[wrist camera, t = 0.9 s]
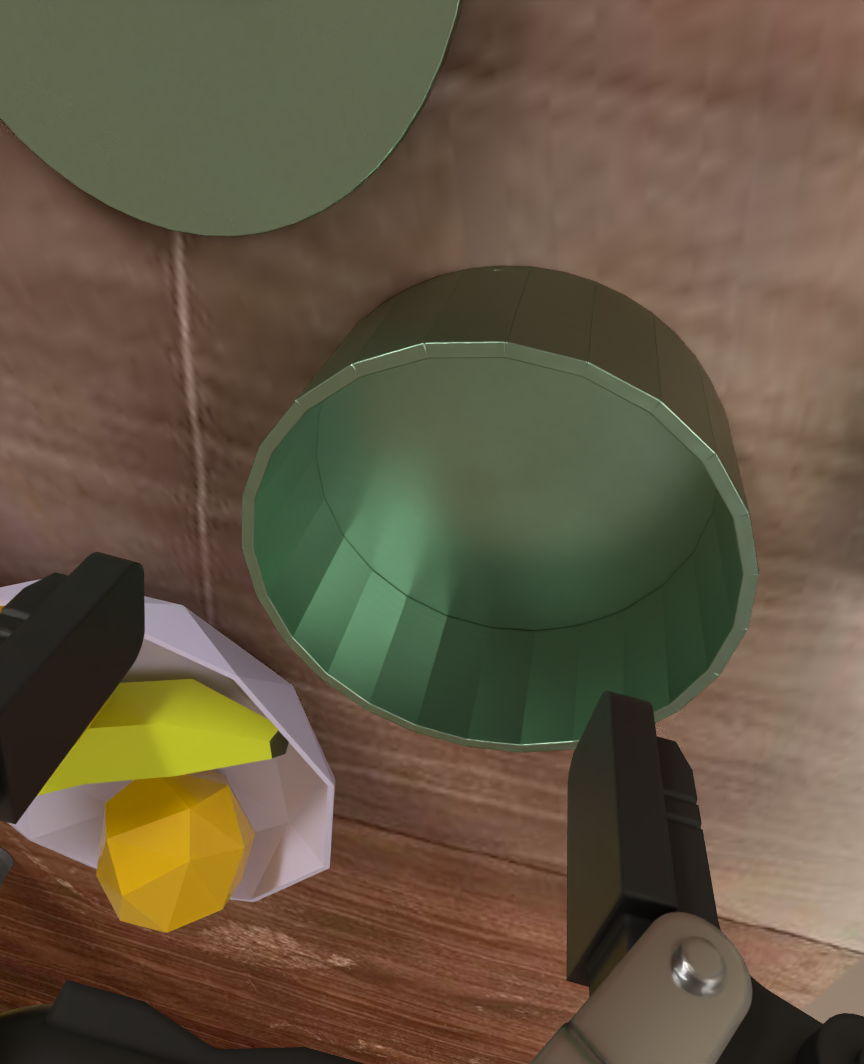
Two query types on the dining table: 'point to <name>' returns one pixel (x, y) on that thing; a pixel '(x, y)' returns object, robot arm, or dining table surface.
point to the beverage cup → (4, 865)
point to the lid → (219, 100)
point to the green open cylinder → (505, 512)
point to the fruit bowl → (189, 780)
